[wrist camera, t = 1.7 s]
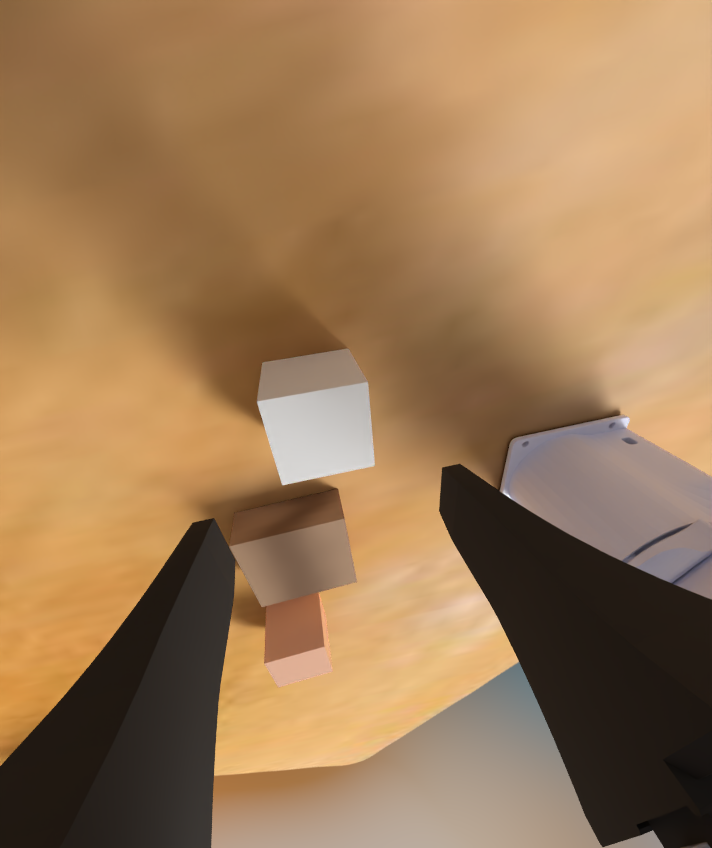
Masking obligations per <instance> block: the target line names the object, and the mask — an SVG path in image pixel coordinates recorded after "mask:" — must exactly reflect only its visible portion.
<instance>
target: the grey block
mask: <svg viewBox="0 0 712 848" xmlns="http://www.w3.org/2000/svg"><path fill="white" fill-rule="evenodd" d="M257 404H258V407H259V410H260V414H261V417H262V420H263V423H264V427H265V430H266V433H267V437H268V440H269V443H270V447H271V450H272V453H273V456H274V460H275V463H276V466H277V470H278V473H279V476H280V479H281V483H282V485H286V484H291V483H296V482H301V481H305V480H310V479H315V478H320V477H324V476H329V475H334V474H339V473H343V472H348V471H353V470H357V469H362V468H367V467H372V466H375V462H374V449H373V437H372V425H371V413H370V400H369V388H368V381H367V379H366V378H365V376H364V374H363V373H362V371H361V369H360V367H359V366H358V364H357V362H356V361H355V359H354V357H353V355H352V354H351V352H350V350H349V349H341V350H335V351H329V352H323V353H317V354H311V355H305V356H299V357H292V358H286V359H280V360H274V361H268V362H262V368H261V375H260V382H259V390H258V397H257Z"/></svg>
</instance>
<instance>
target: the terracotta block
mask: <svg viewBox="0 0 712 848" xmlns="http://www.w3.org/2000/svg"><path fill="white" fill-rule="evenodd" d="M264 664H265V666H266V667H267V669H268V671H269V673H270V674H271V676H272V678H273V679H274V681H275V683H276V684H277V686H278V687H281V686H285V685H288V684H292V683H295V682H298V681H302V680H305V679H309V678H312V677H315V676H319V675H322V674H326V673H329V672H332V671H333V669H332V661H331V653H330V645H329V637H328V629H327V620H326V615H325V611H324V608H323V605H322V601H321V598H320V594H319V592H317V593H314V594H310V595H306V596H302V597H299V598H295V599H291V600H287V601H284V602H280V603H276V604H272V605H268V606H266V628H265V657H264Z"/></svg>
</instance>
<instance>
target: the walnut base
mask: <svg viewBox="0 0 712 848" xmlns="http://www.w3.org/2000/svg"><path fill="white" fill-rule="evenodd" d="M229 547H230V549H231V551H232V553H233V555H234V557H235V559H236V560H237V562H238V564H239V566H240V568H241V570H242V572H243V573H244V575H245V577H246V579H247V581H248V583H249V585H250V586H251V588H252V590H253V592H254V594H255V596H256V598H257V599H258V601H259V603H260V605H261V607H265V606H268V605H272V604H276V603H280V602H284V601H287V600H291V599H295V598H299V597H302V596H306V595H310V594H314V593H317V592H321V591H325V590H329V589H332V588H336V587H340V586H344V585H347V584H351V583H355V582H357V579H356V574H355V569H354V564H353V559H352V554H351V549H350V544H349V539H348V534H347V529H346V524H345V519H344V514H343V510H342V505H341V501H340V496H339V492H338V489H335V490H330V491H326V492H322V493H317V494H313V495H309V496H304V497H300V498H296V499H292V500H287V501H283V502H279V503H274V504H270V505H266V506H262V507H257V508H253V509H249V510H244V511H240V512H236V513H234V519H233V525H232V532H231V538H230V544H229Z"/></svg>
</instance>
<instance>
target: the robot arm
mask: <svg viewBox="0 0 712 848" xmlns="http://www.w3.org/2000/svg"><path fill="white" fill-rule="evenodd" d="M629 420H630V419H629V417H627V416H625V415H619V416H614V417H610V418H605V419H600V420H595V421H591V422H586V423H581V424H577V425H572V426H567V427H563V428H558V429H553V430H549V431H544V432H539V433H535V434H530V435H525V436H521V437H516V438H514V439H513V440H512V441H511V442H510V445H509V450H508V455H507V459H506V464H505V469H504V473H503V478H502V483H501V488H500V491H499V490H497V489H496V488H494V487H493V486H491V485H490V484H488V483H487V482H486V481H484V480H483V479H481V478H480V477H478V476H477V475H475V474H474V473H473V472H471V471H470V470H468V469H467V468H465V467H464V466H462V465H461V464H457V465H452V466H448V467H443V468H442V479H441V493H440V507H439V512H440V514H441V516H442V519H443V521H444V523H445V526H446V528H447V530H448V532H449V534H450V537H451V539H452V541H453V542H454V544H455V546H456V548H457V549H458V551H459V553H460V554H461V556H462V558H463V559H464V561H465V563H466V564H467V566H468V568H469V569H470V571H471V573H472V574H473V576H474V578H475V579H476V581H477V583H478V584H479V586H480V588H481V589H482V591H483V593H484V594H485V596H486V598H487V599H488V601H489V603H490V605H491V606H492V608H493V610H494V612H495V614H496V615H497V617H498V619H499V621H500V623H501V625H502V627H503V629H504V631H505V633H506V635H507V637H508V639H509V641H510V644H511V646H512V648H513V650H514V652H515V654H516V656H517V658H518V660H519V662H520V664H521V667H522V669H523V671H524V673H525V675H526V677H527V679H528V682H529V684H530V686H531V688H532V690H533V693H534V695H535V697H536V699H537V701H538V704H539V706H540V708H541V710H542V713H543V715H544V717H545V720H546V722H547V724H548V727H549V729H550V731H551V733H552V736H553V738H554V740H555V743H556V745H557V748H558V750H559V752H560V754H561V757H562V759H563V762H564V764H565V767H566V769H567V771H568V774H569V776H570V779H571V781H572V784H573V786H574V788H575V791H576V793H577V796H578V798H579V801H580V804H581V806H582V809H583V811H584V814H585V816H586V818H587V820H588V822H589V823H590V825H591V827H592V829H593V831H594V833H595V835H596V837H597V839H598V841H599V843H600V844H601V845H602V847H605V846H608V845H611V844H614V843H617V842H620V841H624V840H627V839H630V838H633V837H636V836H640V835H642V834H645V833H647V832H650V831H652V830H653V831H654V832H655V834H656V835H657V837H658V839H659V840H660V842H661V843H662V845H663V847H664V848H712V477H711V476H709V475H708V474H706V473H704V472H703V471H701V470H699V469H697V468H696V467H694V466H692V465H690V464H689V463H687V462H685V461H683V460H681V459H680V458H678V457H676V456H674V455H673V454H671V453H669V452H667V451H666V450H664V449H662V448H660V447H658V446H657V445H655V444H653V443H651V442H650V441H648V440H646V439H644V438H643V437H641V436H639V435H637V434H635V433H634V432H632V431H630V430H628V429H627V425H628V423H629ZM234 585H235V558H234V556H233V554H232V553H231V551H230V549H229V547H228V545H227V543H226V541H225V539H224V537H223V535H222V533H221V531H220V529H219V527H218V525H217V523H216V521H215V519H214V518H212V519H208V520H203V521H199V522H194V523H192V525H191V526H190V528H189V529H188V530H187V532H186V533H185V535H184V536H183V538H182V539H181V541H180V542H179V544H178V545H177V547H176V548H175V550H174V551H173V553H172V554H171V556H170V557H169V559H168V560H167V562H166V563H165V565H164V566H163V568H162V569H161V571H160V572H159V573H158V575H157V576H156V578H155V579H154V581H153V582H152V583H151V585H150V586H149V588H148V589H147V591H146V592H145V593H144V595H143V596H142V598H141V599H140V601H139V602H138V603H137V605H136V606H135V607H134V609H133V610H132V611H131V613H130V614H129V615H128V617H127V618H126V619H125V621H124V622H123V623H122V625H121V626H120V627H119V629H118V630H117V631H116V633H115V634H114V635H113V637H112V638H111V639H110V641H109V642H108V643H107V644H106V646H105V647H104V648H103V650H102V651H101V652H100V653H99V655H98V656H97V657H96V658H95V660H94V661H93V662H92V663H91V664H90V666H89V667H88V668H87V669H86V671H85V672H84V673H83V674H82V675H81V677H80V678H79V679H78V680H77V681H76V682H75V684H74V685H73V686H72V687H71V688H70V690H69V691H68V692H67V693H66V694H65V696H64V697H63V698H62V699H61V700H60V701H59V702H58V704H57V705H56V706H55V707H54V708H53V709H52V710H51V711H50V712H49V714H48V715H47V716H46V717H45V718H44V719H43V720H42V721H41V722H40V723H39V725H38V726H37V727H36V728H35V729H34V730H33V731H32V732H31V733H30V734H29V735H28V737H27V738H26V739H25V740H24V741H23V742H22V743H21V744H20V745H19V746H18V748H17V749H16V750H15V751H14V752H13V753H12V754H11V755H10V756H9V757H8V758H7V760H6V761H5V762H4V763H3V764H2V765H1V766H0V848H211V834H212V802H213V781H214V762H215V744H216V729H217V715H218V701H219V693H220V684H221V677H222V671H223V664H224V658H225V651H226V645H227V639H228V632H229V626H230V619H231V612H232V606H233V599H234Z"/></svg>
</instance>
